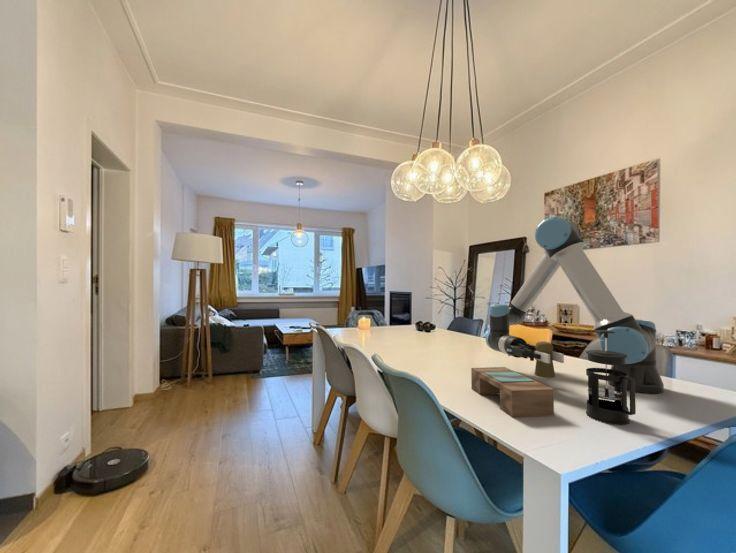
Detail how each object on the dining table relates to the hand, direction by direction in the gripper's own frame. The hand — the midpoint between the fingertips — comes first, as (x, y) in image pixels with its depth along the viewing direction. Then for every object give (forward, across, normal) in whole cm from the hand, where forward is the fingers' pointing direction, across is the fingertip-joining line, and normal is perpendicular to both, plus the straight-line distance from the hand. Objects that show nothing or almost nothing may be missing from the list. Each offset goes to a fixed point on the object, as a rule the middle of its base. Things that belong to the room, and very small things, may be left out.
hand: (555, 358), depth 102 cm
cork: (-5, 0, -7) cm, 9 cm away
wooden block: (+1, +17, -12) cm, 21 cm away
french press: (+17, -2, -12) cm, 21 cm away
